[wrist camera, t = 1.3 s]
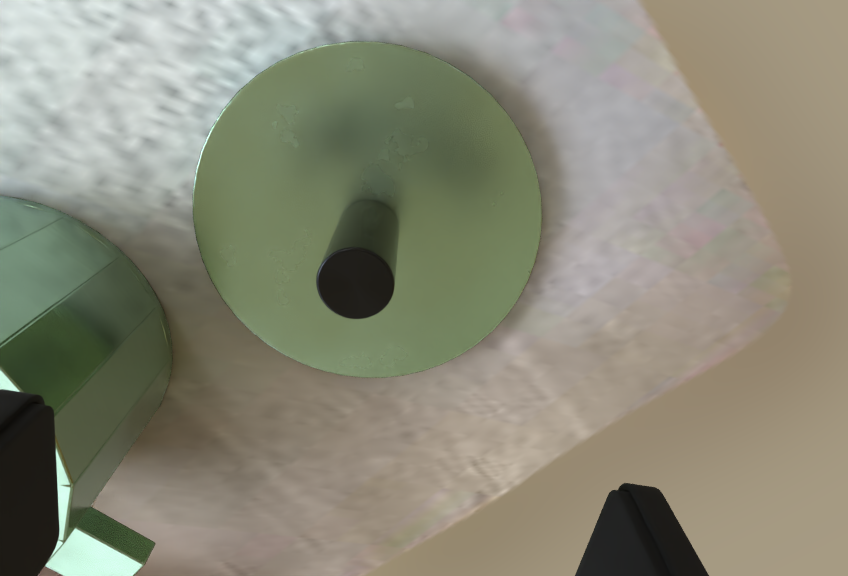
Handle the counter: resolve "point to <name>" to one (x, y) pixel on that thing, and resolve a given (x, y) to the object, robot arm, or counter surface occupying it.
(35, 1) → the counter surface
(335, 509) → the counter surface
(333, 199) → the lid
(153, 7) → the counter surface
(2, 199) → the pot
